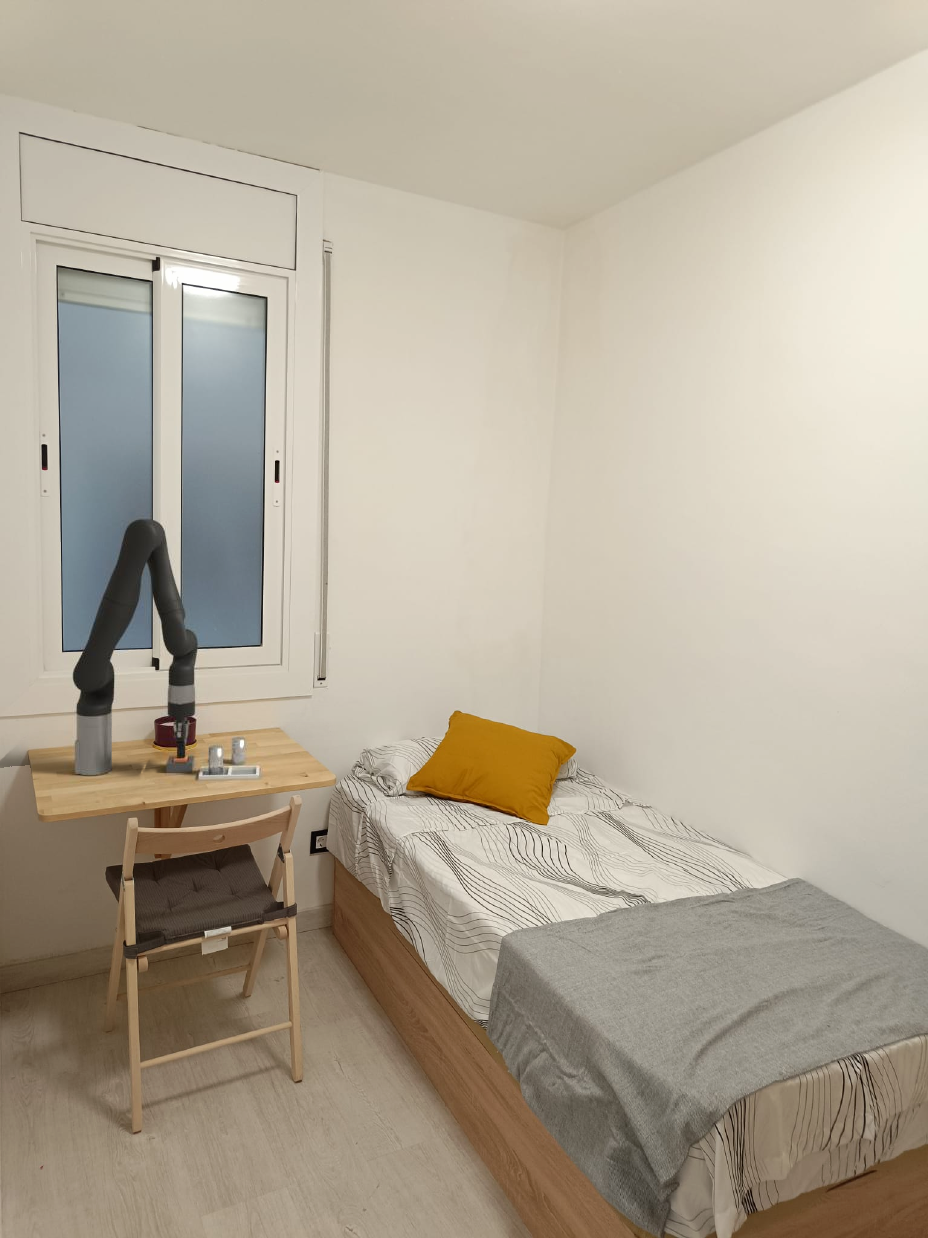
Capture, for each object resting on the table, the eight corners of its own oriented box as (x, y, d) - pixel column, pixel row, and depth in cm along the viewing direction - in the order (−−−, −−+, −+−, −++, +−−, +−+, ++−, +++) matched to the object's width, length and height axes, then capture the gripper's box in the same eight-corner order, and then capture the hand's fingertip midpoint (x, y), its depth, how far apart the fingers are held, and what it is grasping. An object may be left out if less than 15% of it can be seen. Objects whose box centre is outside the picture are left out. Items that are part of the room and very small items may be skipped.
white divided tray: (196, 784, 234) (196, 777, 234) (199, 773, 243) (199, 766, 243) (260, 783, 238) (260, 775, 237) (260, 772, 247) (261, 765, 247)
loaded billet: (207, 777, 237) (208, 749, 236) (208, 772, 241) (209, 745, 240) (222, 776, 238) (222, 749, 237) (223, 772, 242) (223, 745, 241)
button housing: (166, 777, 238) (166, 763, 238) (169, 769, 245) (169, 756, 245) (192, 776, 240) (192, 763, 239) (194, 769, 247) (194, 756, 246)
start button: (173, 768, 240) (173, 759, 240) (174, 764, 244) (174, 755, 243) (186, 767, 241) (186, 759, 241) (187, 764, 244) (187, 755, 244)
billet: (231, 767, 249) (231, 740, 247) (231, 762, 252) (232, 737, 251) (244, 766, 249) (245, 740, 248) (245, 762, 253) (245, 737, 252)
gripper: (170, 694, 245) (170, 751, 247) (164, 704, 232) (164, 765, 235) (197, 693, 247) (196, 750, 249) (193, 704, 234) (192, 764, 236)
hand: (181, 757), depth 242 cm, fingers closed
